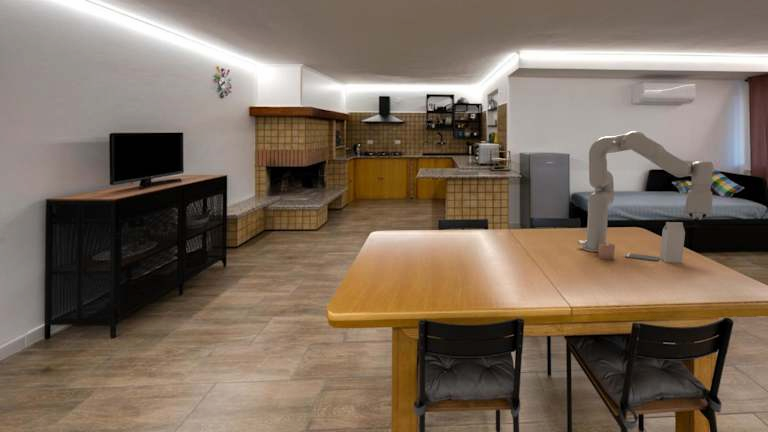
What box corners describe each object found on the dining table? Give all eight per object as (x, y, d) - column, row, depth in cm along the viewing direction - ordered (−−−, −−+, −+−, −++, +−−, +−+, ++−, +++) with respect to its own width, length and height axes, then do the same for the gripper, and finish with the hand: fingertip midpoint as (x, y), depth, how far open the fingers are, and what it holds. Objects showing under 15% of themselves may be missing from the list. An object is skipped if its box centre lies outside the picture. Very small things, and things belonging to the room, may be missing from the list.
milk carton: (682, 263, 213) (686, 223, 210) (665, 262, 215) (669, 223, 212) (675, 259, 220) (679, 221, 217) (659, 258, 222) (663, 220, 219)
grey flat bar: (625, 257, 225) (625, 256, 225) (627, 254, 231) (627, 252, 231) (657, 261, 216) (657, 260, 216) (659, 258, 223) (659, 256, 223)
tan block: (596, 258, 223) (597, 244, 222) (599, 255, 228) (600, 242, 227) (612, 260, 219) (613, 246, 218) (615, 257, 224) (616, 244, 223)
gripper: (680, 188, 208) (676, 226, 211) (720, 189, 199) (715, 230, 202) (681, 186, 214) (677, 224, 217) (720, 188, 205) (715, 227, 208)
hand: (696, 227), depth 210 cm, fingers closed
